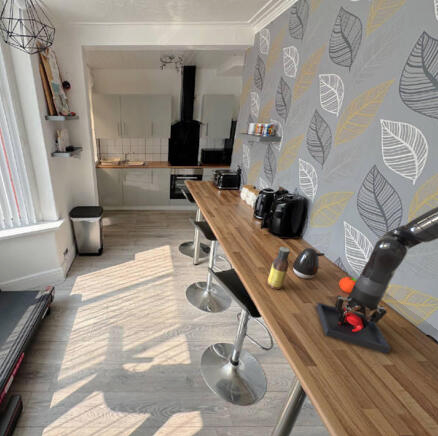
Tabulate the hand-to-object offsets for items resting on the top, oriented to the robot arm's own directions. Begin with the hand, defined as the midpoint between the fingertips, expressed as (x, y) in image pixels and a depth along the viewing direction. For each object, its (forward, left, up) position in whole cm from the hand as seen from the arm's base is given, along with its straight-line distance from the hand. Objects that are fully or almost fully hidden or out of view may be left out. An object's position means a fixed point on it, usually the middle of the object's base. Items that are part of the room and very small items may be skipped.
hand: (350, 324), depth 87 cm
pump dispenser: (+10, -30, -2) cm, 32 cm away
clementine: (-7, -25, -2) cm, 26 cm away
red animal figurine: (0, 0, -2) cm, 2 cm away
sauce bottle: (+24, -15, -2) cm, 29 cm away
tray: (0, 0, -2) cm, 2 cm away
